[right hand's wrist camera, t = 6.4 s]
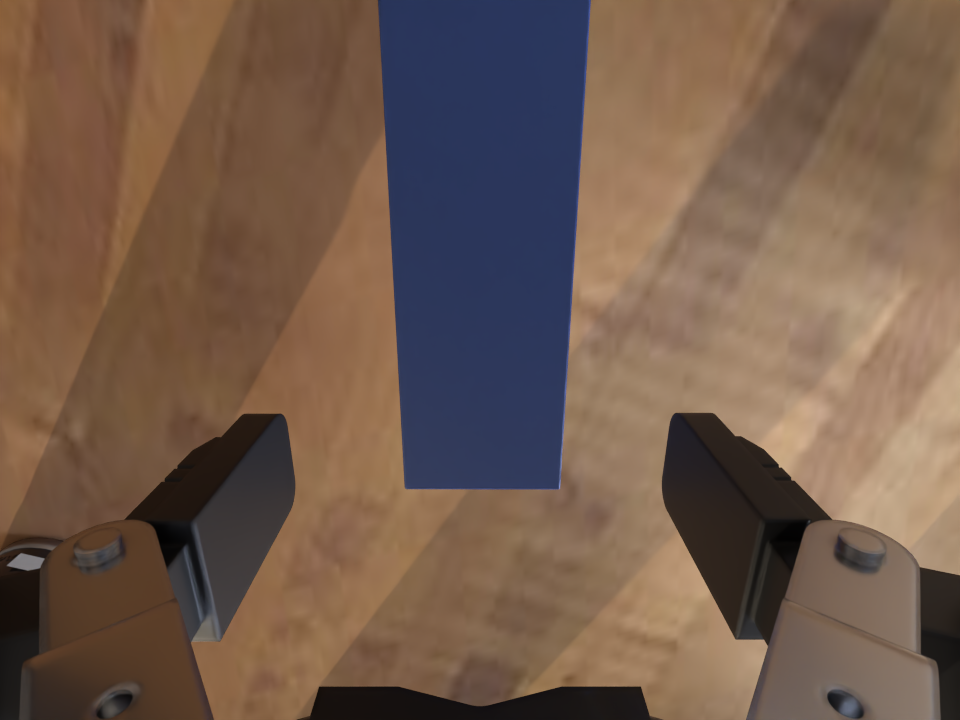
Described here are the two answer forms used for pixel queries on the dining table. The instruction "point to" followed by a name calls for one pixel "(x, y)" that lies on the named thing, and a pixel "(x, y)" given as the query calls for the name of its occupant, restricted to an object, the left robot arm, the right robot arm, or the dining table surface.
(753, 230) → the dining table surface
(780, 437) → the dining table surface
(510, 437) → the bar
